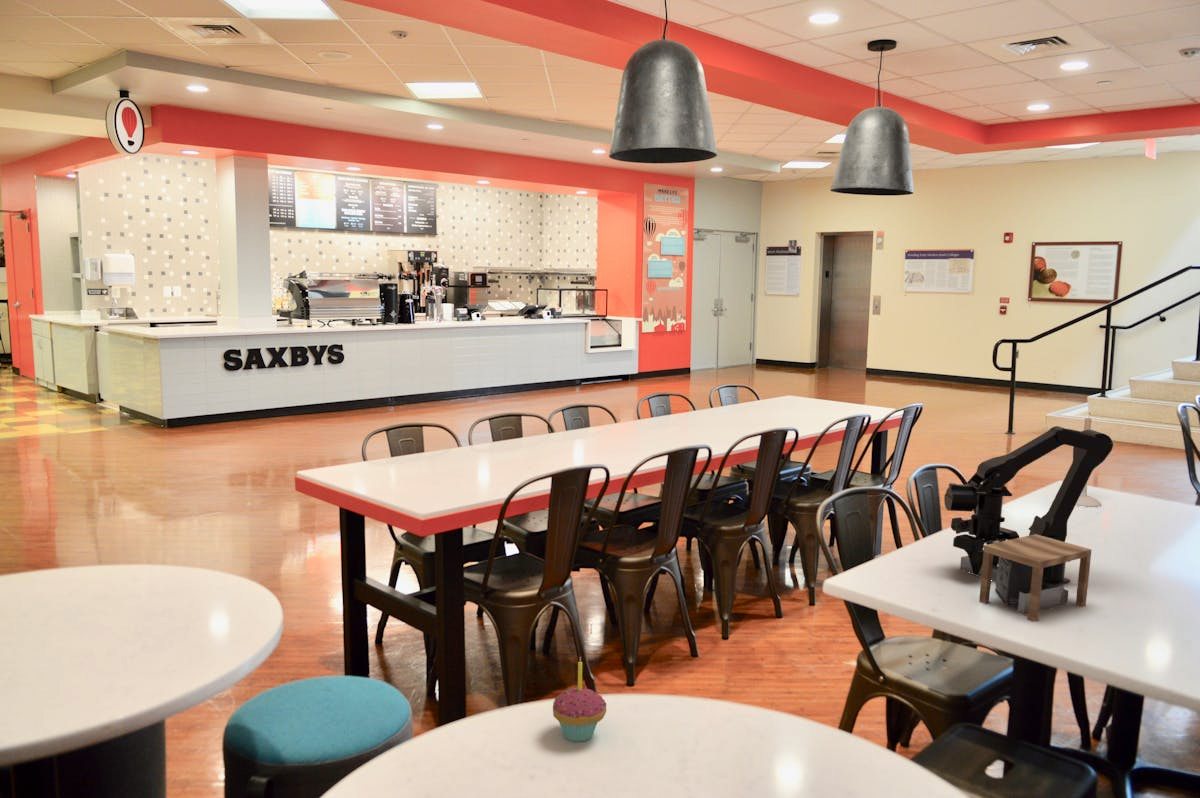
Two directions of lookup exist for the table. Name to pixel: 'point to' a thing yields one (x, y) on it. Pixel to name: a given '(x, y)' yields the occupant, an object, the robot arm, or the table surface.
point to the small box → (1012, 580)
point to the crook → (1028, 591)
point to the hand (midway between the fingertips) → (983, 572)
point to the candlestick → (1083, 498)
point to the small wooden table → (1036, 565)
